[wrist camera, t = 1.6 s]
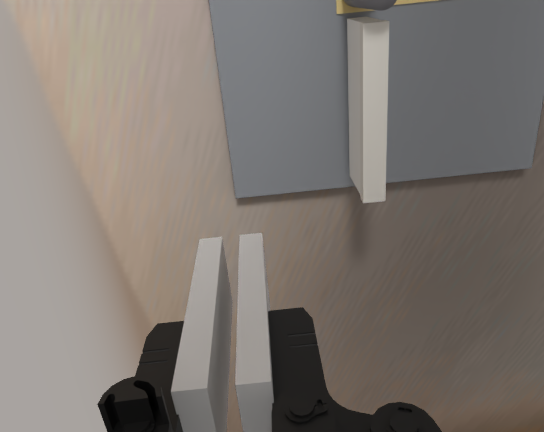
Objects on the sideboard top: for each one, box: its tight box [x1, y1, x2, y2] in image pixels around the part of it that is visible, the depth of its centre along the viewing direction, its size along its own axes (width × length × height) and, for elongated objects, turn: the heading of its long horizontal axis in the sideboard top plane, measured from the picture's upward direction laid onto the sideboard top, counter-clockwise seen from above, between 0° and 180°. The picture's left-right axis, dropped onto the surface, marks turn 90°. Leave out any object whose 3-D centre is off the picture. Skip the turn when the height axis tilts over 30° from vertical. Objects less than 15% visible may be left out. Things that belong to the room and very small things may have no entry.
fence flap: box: [347, 17, 389, 203], centre depth 29 cm, size 10×1×5 cm, turn 5°
